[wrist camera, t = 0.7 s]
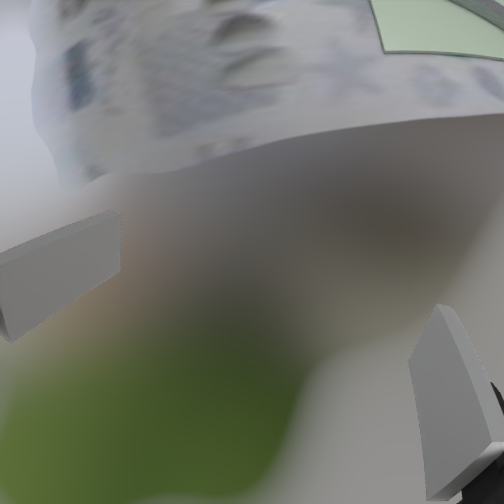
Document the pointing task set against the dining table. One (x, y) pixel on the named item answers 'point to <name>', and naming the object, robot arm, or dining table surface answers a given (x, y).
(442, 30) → the board
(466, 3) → the bar
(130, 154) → the dining table surface
